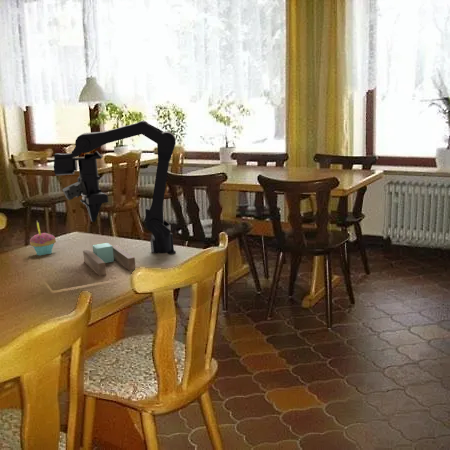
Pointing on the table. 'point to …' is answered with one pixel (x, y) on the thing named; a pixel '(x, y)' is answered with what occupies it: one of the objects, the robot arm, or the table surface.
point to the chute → (99, 264)
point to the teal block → (104, 252)
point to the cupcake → (42, 242)
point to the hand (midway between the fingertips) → (93, 221)
